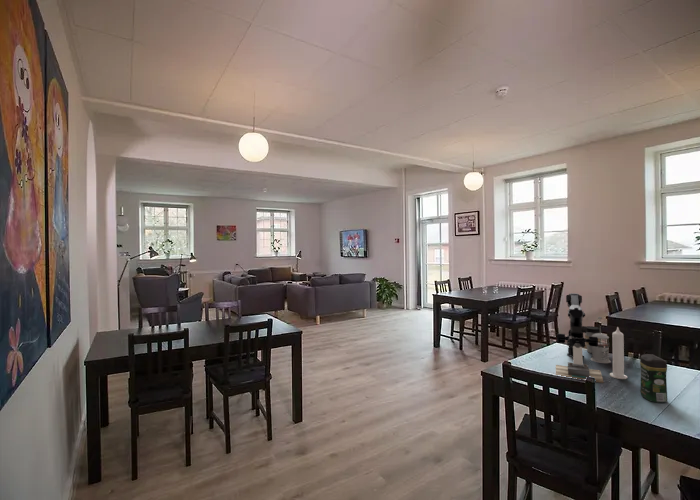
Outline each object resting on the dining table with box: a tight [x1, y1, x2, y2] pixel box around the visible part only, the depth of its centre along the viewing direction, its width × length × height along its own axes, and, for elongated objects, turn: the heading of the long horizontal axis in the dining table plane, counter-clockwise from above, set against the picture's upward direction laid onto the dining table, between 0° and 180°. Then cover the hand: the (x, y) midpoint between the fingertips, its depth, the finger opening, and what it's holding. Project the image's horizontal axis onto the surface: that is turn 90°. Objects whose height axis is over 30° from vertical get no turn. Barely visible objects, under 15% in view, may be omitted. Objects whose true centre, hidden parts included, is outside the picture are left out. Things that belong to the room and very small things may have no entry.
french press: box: [590, 316, 612, 364], centre depth 206 cm, size 10×12×25 cm
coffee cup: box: [584, 325, 603, 354], centre depth 221 cm, size 9×9×15 cm
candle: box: [609, 326, 628, 380], centre depth 182 cm, size 7×7×25 cm
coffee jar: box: [639, 353, 668, 404], centre depth 156 cm, size 10×8×19 cm
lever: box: [572, 343, 584, 365], centre depth 188 cm, size 3×4×11 cm
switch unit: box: [555, 361, 604, 384], centre depth 186 cm, size 16×20×5 cm
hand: (577, 353), depth 190 cm, fingers closed
